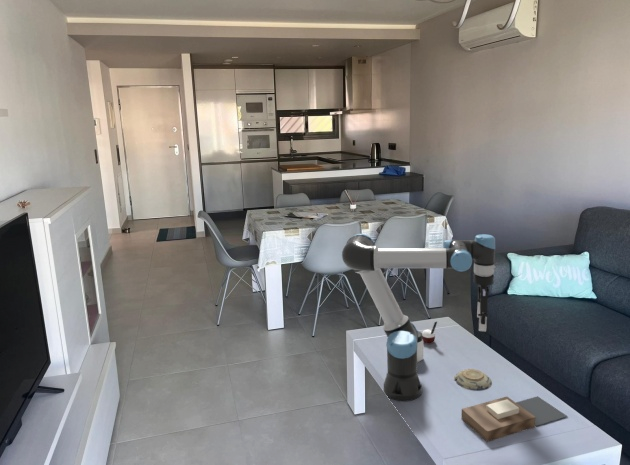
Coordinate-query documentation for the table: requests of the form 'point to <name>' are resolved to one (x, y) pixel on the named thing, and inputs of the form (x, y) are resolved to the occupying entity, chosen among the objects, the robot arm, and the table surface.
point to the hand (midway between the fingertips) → (481, 324)
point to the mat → (541, 410)
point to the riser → (496, 421)
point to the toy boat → (429, 335)
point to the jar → (419, 347)
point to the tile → (502, 409)
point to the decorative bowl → (473, 379)
